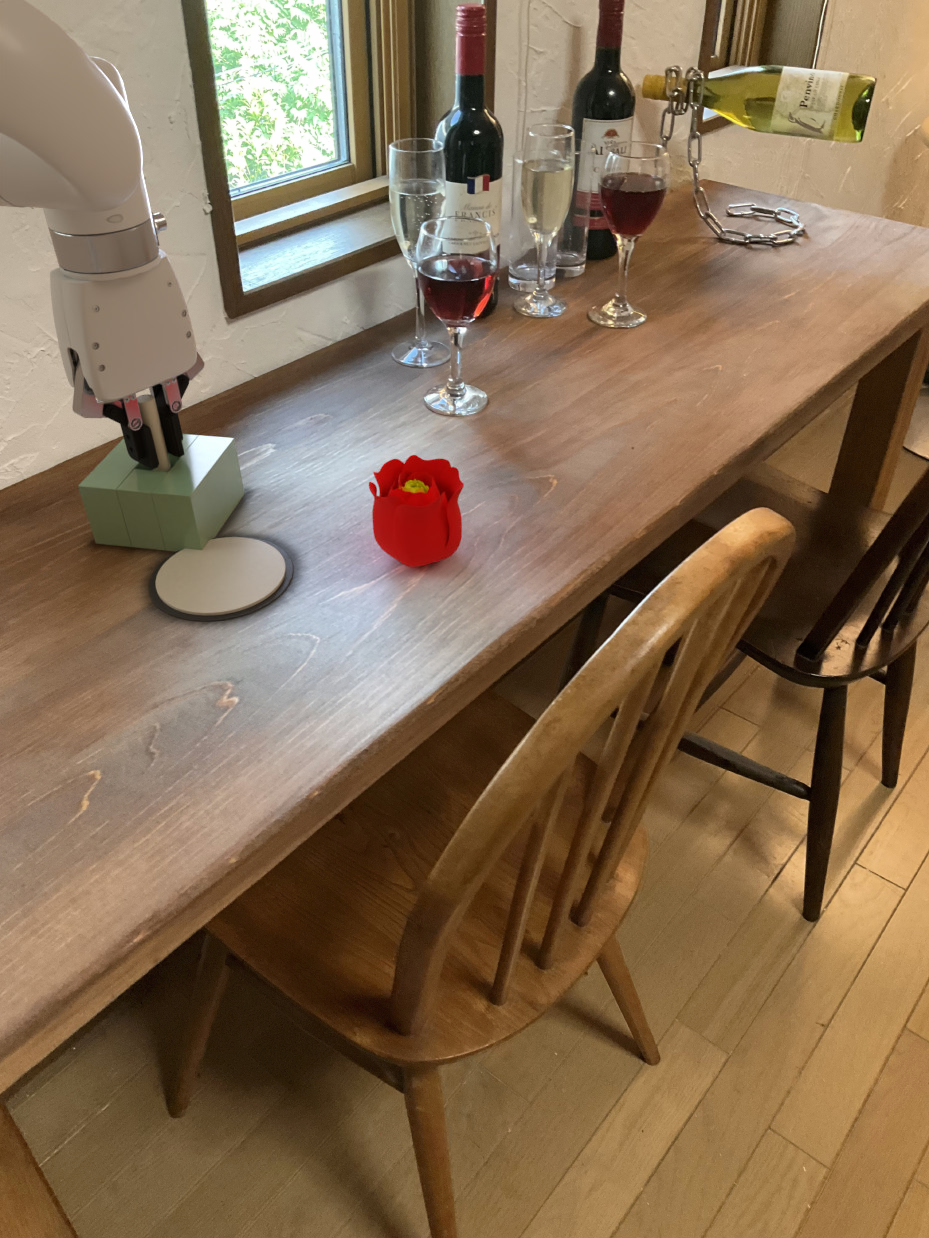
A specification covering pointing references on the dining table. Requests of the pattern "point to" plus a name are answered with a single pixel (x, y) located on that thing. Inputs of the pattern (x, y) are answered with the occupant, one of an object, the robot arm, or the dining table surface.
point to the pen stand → (164, 496)
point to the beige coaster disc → (221, 579)
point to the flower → (417, 510)
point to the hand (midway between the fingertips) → (158, 456)
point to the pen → (154, 429)
